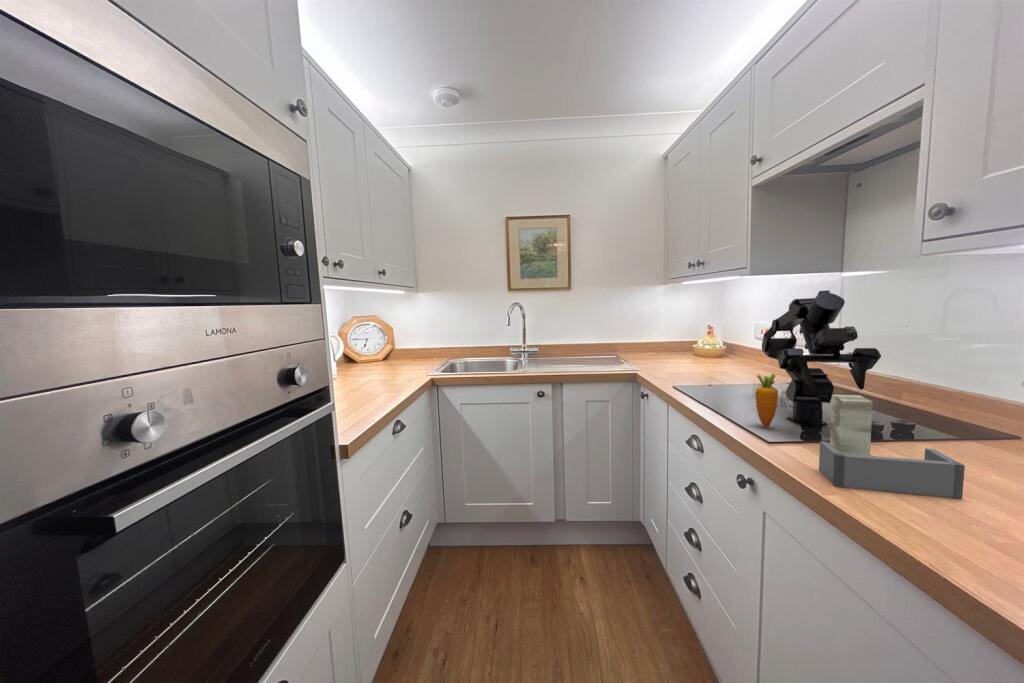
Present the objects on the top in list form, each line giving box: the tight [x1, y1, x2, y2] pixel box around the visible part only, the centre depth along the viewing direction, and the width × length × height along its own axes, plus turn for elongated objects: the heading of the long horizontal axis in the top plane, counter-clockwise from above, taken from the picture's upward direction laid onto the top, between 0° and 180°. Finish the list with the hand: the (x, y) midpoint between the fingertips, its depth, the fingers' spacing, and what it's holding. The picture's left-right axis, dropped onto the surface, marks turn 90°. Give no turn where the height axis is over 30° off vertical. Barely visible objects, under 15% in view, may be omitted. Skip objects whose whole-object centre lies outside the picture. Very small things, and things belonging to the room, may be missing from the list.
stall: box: [818, 441, 966, 500], centre depth 69 cm, size 7×17×6 cm, turn 70°
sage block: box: [829, 394, 874, 456], centre depth 80 cm, size 5×5×13 cm
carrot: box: [755, 373, 779, 429], centre depth 99 cm, size 5×5×15 cm
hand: (837, 388), depth 85 cm, fingers open, 9 cm apart
